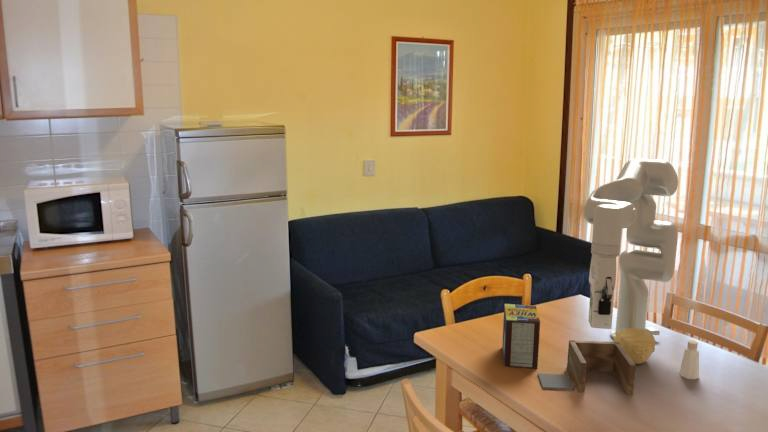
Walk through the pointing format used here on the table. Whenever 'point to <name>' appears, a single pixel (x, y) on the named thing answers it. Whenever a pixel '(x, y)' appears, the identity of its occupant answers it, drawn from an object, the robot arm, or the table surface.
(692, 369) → the salt shaker
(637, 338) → the sculpture
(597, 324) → the syrup box
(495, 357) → the table surface
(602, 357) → the wooden u-shaped stand
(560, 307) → the table surface
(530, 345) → the protein box
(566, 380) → the mat
